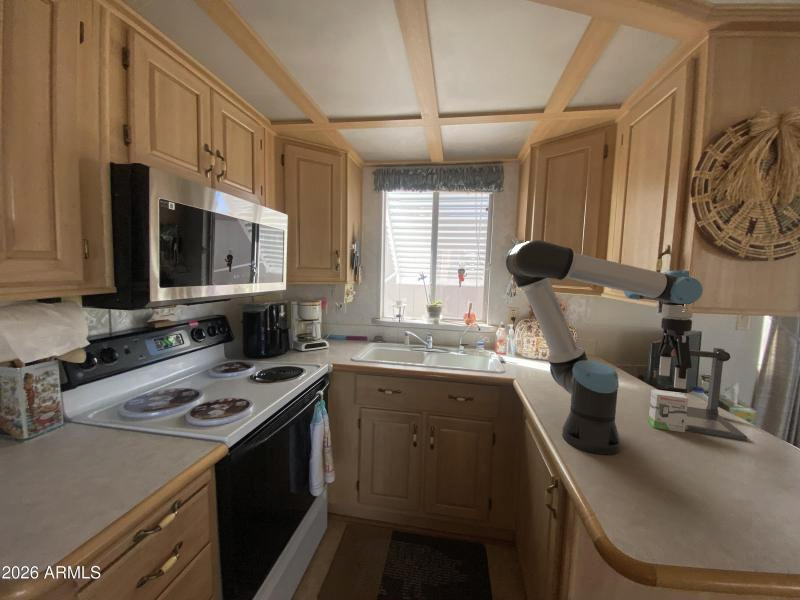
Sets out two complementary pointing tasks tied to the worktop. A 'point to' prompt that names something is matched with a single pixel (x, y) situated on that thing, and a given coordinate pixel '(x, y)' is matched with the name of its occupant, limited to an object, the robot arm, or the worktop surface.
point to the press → (712, 410)
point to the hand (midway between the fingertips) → (671, 381)
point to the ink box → (668, 410)
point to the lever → (710, 354)
